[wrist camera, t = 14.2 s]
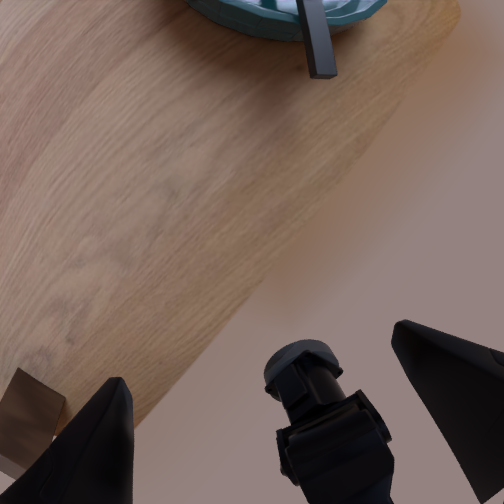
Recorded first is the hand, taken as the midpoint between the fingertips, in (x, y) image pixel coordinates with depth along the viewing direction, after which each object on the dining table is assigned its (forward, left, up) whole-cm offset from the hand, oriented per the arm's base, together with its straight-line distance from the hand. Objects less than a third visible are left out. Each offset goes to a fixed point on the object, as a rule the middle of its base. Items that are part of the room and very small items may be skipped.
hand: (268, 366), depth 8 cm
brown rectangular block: (+6, +27, -13) cm, 30 cm away
